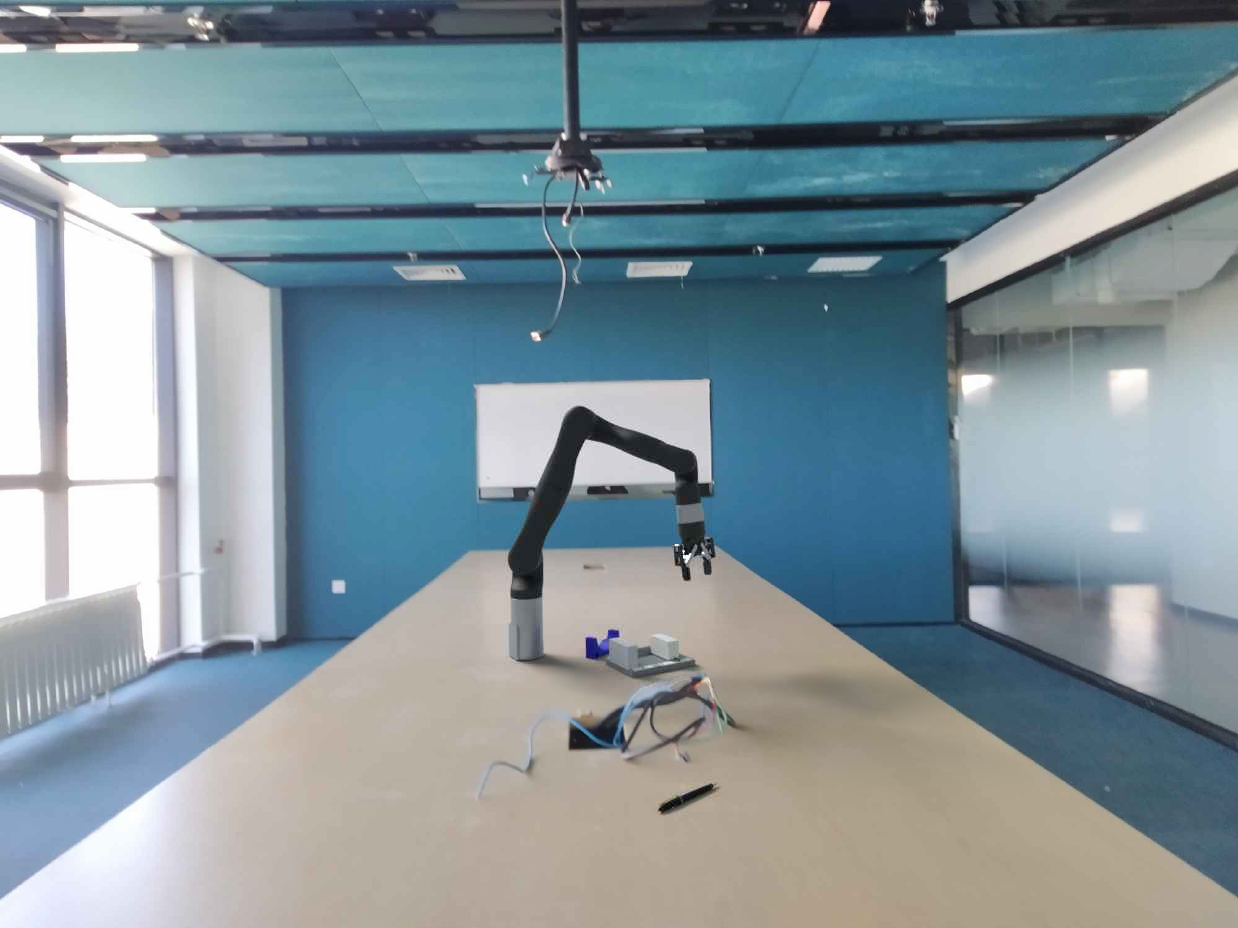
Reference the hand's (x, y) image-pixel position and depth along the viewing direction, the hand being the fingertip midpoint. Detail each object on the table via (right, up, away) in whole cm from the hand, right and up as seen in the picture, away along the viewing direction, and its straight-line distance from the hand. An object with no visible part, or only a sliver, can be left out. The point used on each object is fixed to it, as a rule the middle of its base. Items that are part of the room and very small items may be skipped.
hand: (697, 577), depth 198 cm
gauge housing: (-13, -23, -4) cm, 27 cm away
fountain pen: (-10, -24, -80) cm, 84 cm away
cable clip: (-27, -24, +9) cm, 37 cm away
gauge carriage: (-9, -21, -3) cm, 23 cm away
